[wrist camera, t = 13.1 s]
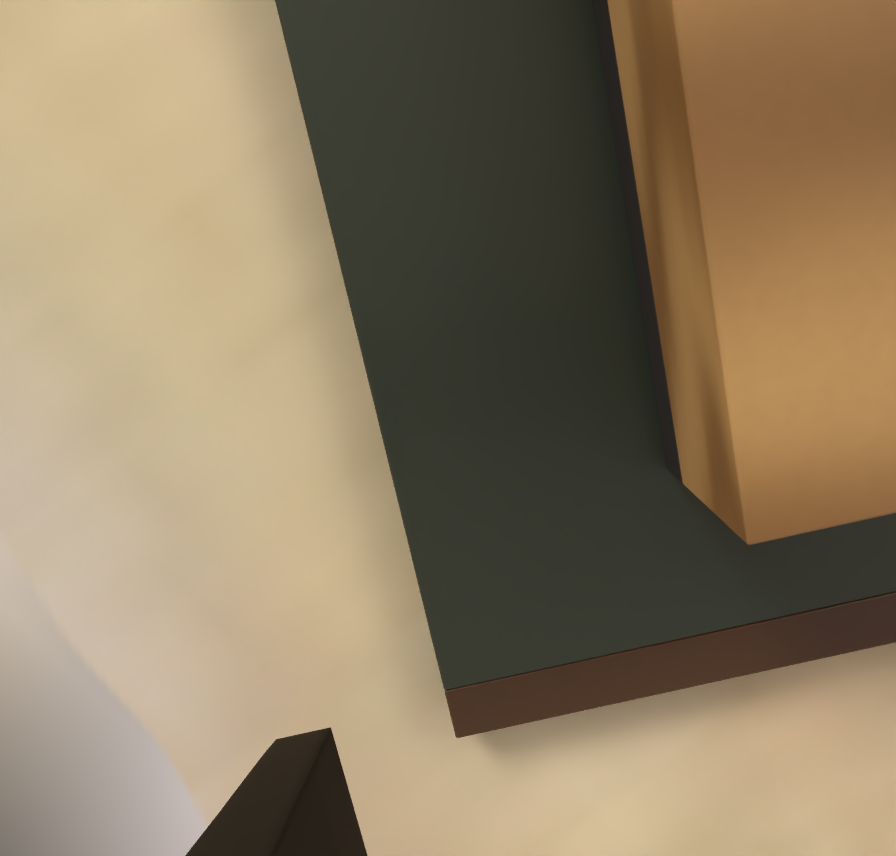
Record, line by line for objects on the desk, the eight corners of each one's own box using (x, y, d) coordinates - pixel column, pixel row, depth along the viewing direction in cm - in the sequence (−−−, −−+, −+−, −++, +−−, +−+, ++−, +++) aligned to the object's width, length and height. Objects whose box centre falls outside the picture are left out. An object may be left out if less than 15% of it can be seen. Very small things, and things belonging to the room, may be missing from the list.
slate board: (1213, 541, 19) (1266, 562, 18) (453, 708, 19) (456, 739, 18) (1222, -657, 14) (1296, -739, 13) (180, -414, 14) (158, -472, 13)
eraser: (906, 417, 17) (1065, 477, 13) (666, 470, 17) (747, 547, 13) (849, -258, 14) (1030, -461, 10) (560, -193, 14) (621, -366, 10)
